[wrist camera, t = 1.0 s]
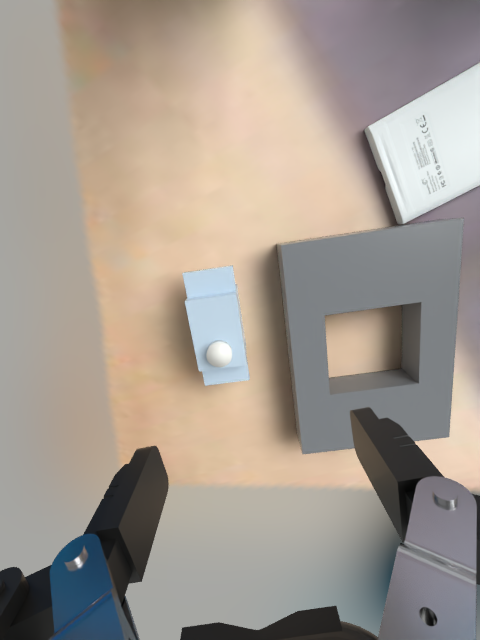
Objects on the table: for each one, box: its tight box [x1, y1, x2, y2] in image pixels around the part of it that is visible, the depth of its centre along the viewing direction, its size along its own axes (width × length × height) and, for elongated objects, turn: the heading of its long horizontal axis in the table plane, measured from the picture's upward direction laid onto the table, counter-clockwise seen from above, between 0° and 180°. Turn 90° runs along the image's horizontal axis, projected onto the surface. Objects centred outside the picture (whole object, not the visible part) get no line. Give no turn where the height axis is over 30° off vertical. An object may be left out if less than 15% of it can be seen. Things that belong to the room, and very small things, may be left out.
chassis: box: [277, 218, 464, 454], centre depth 27 cm, size 20×14×3 cm
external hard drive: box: [364, 63, 480, 224], centre depth 23 cm, size 2×8×12 cm
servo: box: [182, 265, 250, 386], centre depth 25 cm, size 10×4×6 cm, turn 8°
